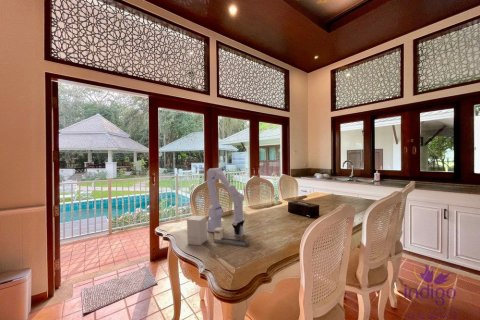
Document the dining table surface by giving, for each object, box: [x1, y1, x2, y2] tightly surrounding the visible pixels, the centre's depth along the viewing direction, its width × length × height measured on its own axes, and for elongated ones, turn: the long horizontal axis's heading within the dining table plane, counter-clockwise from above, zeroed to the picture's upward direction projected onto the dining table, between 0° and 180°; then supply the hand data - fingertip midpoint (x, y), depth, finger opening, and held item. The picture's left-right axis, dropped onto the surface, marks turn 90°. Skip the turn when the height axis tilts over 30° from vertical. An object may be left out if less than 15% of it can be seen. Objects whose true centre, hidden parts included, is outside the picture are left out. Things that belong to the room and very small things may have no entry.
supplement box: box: [186, 215, 208, 246], centre depth 128 cm, size 9×9×15 cm
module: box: [233, 225, 244, 238], centre depth 137 cm, size 5×4×6 cm
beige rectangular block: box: [213, 227, 224, 240], centre depth 127 cm, size 4×4×6 cm
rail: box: [213, 237, 250, 248], centre depth 125 cm, size 21×4×3 cm, turn 71°
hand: (238, 232), depth 137 cm, fingers open, 5 cm apart
